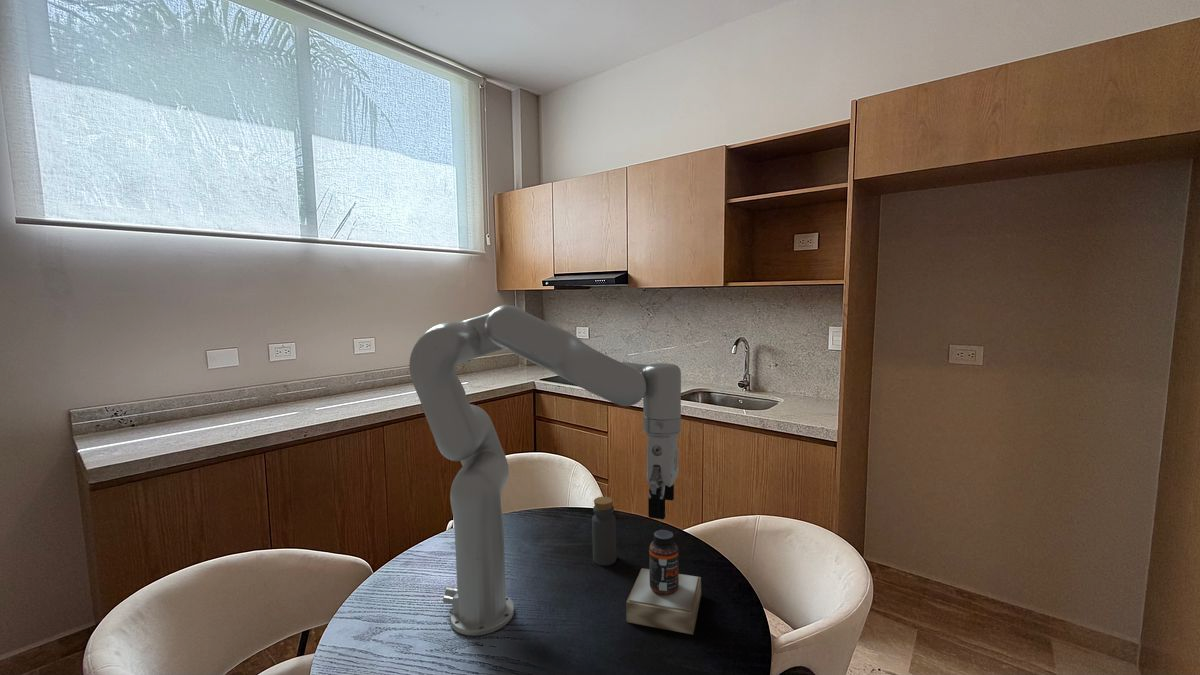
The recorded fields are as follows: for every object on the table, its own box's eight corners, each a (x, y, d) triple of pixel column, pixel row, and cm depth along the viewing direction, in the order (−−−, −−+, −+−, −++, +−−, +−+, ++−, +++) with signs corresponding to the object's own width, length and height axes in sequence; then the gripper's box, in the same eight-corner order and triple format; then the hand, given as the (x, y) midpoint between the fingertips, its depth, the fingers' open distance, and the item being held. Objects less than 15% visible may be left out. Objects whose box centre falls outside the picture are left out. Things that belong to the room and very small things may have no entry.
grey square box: (626, 621, 94) (626, 600, 93) (641, 585, 106) (641, 566, 106) (693, 634, 89) (692, 612, 89) (701, 595, 102) (700, 575, 102)
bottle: (616, 565, 115) (615, 504, 114) (592, 565, 115) (590, 505, 114) (616, 553, 120) (615, 495, 120) (593, 553, 121) (591, 495, 120)
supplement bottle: (669, 600, 93) (669, 544, 93) (644, 589, 97) (643, 535, 96) (684, 585, 98) (683, 532, 97) (658, 576, 102) (658, 524, 101)
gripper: (673, 437, 86) (672, 529, 87) (686, 417, 103) (686, 495, 104) (633, 433, 89) (633, 523, 90) (652, 415, 105) (652, 491, 106)
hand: (661, 508), depth 97 cm, fingers open, 9 cm apart
